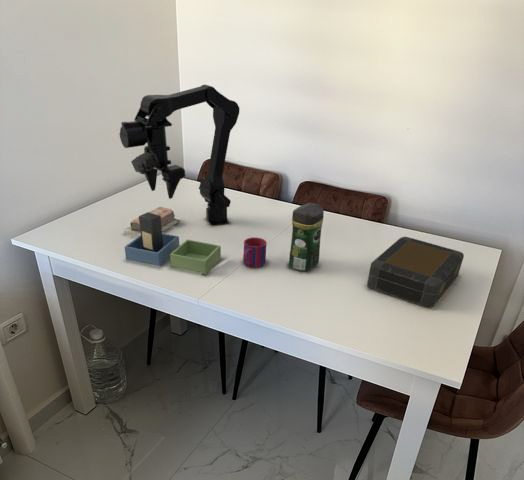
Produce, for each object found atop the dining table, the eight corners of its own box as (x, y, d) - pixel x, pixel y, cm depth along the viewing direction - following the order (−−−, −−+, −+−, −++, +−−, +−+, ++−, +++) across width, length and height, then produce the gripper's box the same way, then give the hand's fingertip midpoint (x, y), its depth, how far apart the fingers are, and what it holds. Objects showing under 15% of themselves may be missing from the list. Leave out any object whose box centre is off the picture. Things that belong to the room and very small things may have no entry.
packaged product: (156, 203, 174) (179, 209, 171) (157, 216, 177) (180, 223, 174) (121, 220, 161) (146, 227, 158) (123, 234, 164) (148, 241, 161)
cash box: (395, 256, 159) (400, 234, 154) (458, 275, 150) (466, 252, 145) (362, 287, 142) (366, 262, 137) (431, 310, 133) (438, 285, 128)
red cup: (269, 261, 152) (270, 241, 148) (251, 274, 145) (251, 252, 141) (251, 255, 155) (252, 235, 151) (232, 267, 148) (232, 246, 144)
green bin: (187, 253, 155) (187, 239, 152) (220, 259, 152) (220, 245, 150) (171, 268, 146) (169, 254, 144) (205, 275, 144) (205, 261, 141)
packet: (151, 249, 155) (147, 212, 148) (164, 253, 153) (160, 215, 146) (142, 253, 152) (138, 216, 145) (155, 258, 150) (151, 220, 143)
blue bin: (148, 243, 159) (146, 230, 157) (179, 249, 157) (178, 236, 154) (126, 260, 149) (124, 246, 146) (159, 267, 146) (158, 253, 144)
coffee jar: (299, 256, 156) (305, 198, 145) (322, 263, 153) (329, 204, 142) (283, 267, 150) (288, 207, 138) (306, 275, 146) (313, 214, 135)
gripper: (116, 141, 149) (123, 192, 158) (153, 155, 138) (158, 209, 148) (147, 135, 155) (152, 184, 165) (184, 148, 145) (187, 200, 154)
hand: (161, 194), depth 158 cm, fingers open, 9 cm apart
